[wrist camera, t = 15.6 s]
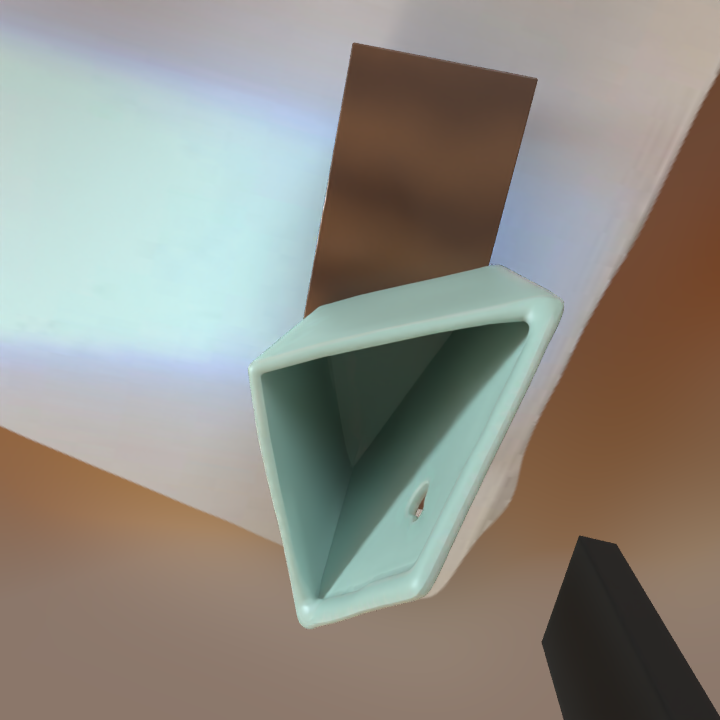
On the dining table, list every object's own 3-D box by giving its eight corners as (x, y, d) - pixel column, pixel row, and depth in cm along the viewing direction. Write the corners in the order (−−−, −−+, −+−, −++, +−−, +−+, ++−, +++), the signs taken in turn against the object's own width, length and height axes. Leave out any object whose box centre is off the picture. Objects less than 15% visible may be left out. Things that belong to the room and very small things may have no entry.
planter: (393, 190, 30) (347, 136, 11) (508, 269, 31) (648, 345, 12) (249, 413, 35) (42, 643, 16) (351, 480, 35) (269, 784, 16)
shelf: (369, 86, 38) (352, 41, 29) (508, 114, 38) (538, 77, 28) (306, 421, 45) (275, 474, 36) (423, 448, 45) (423, 510, 35)
